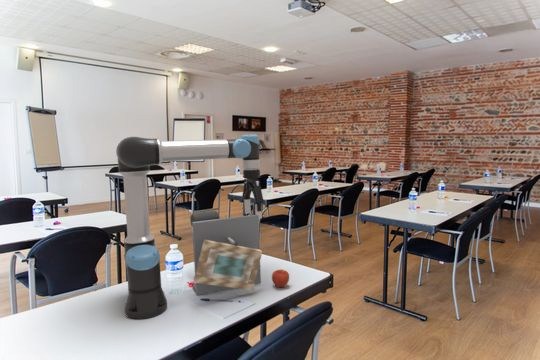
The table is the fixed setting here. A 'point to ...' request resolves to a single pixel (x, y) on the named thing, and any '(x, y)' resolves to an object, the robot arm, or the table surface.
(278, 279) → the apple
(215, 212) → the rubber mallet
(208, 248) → the frame
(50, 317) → the table surface
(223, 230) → the panel
